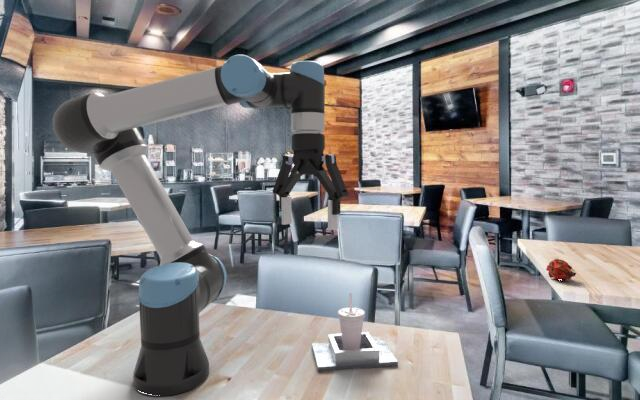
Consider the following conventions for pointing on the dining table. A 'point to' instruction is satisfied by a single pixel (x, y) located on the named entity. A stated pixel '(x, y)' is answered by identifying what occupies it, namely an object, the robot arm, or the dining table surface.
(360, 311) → the smoothie
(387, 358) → the collar
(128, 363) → the dining table surface
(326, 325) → the dining table surface
